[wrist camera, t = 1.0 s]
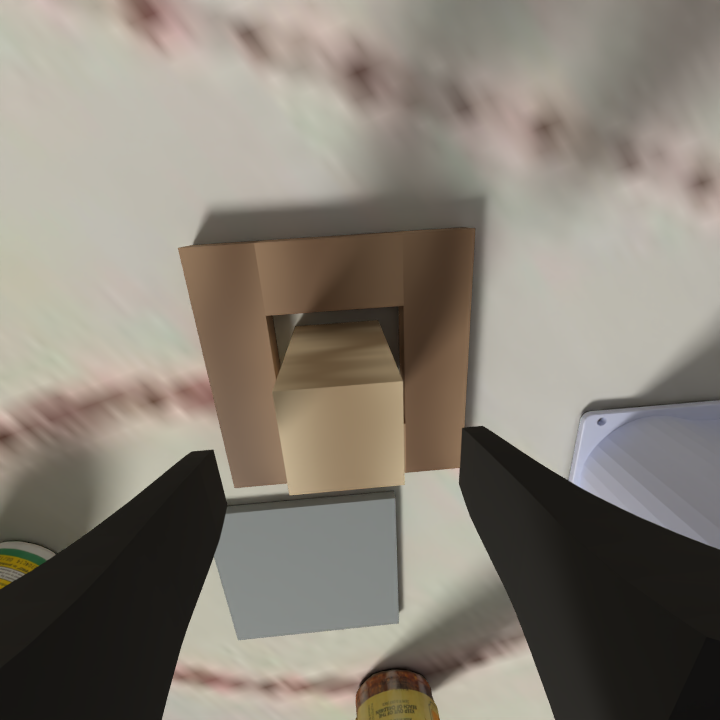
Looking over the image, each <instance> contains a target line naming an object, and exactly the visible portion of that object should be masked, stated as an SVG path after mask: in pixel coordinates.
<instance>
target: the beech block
mask: <svg viewBox="0 0 720 720" xmlns="http://www.w3.org/2000/svg"><path fill="white" fill-rule="evenodd" d="M272 394H273V400H274V406H275V412H276V418H277V424H278V429H279V435H280V441H281V447H282V453H283V459H284V465H285V471H286V477H287V483H288V489H289V495H299V494H310V493H321V492H332V491H343V490H354V489H365V488H376V487H386V486H397V485H405V479H404V419H403V380H402V378H401V375H400V373H399V370H398V368H397V365H396V363H395V361H394V358H393V356H392V353H391V351H390V348H389V346H388V343H387V341H386V338H385V336H384V333H383V331H382V329H381V326H380V324H379V321H378V320H372V321H358V322H345V323H332V324H318V325H305V326H295V329H294V332H293V335H292V337H291V340H290V343H289V346H288V349H287V351H286V354H285V357H284V360H283V363H282V366H281V368H280V371H279V374H278V377H277V380H276V382H275V385H274V388H273V391H272Z"/></svg>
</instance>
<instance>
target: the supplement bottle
mask: <svg viewBox="0 0 720 720" xmlns="http://www.w3.org/2000/svg"><path fill="white" fill-rule="evenodd" d="M55 555H56V554H55V553H54V552H52V551H50V550H49V549H46V548H44V547H42V546H39V545H36V544H32V543H27V542H21V541H10V542H2V543H0V589H1V588H3V587H5V586H6V585H8V584H10V583H11V582H13V581H15V580H16V579H18V578H20V577H22V576H23V575H25V574H27V573H28V572H30V571H32V570H33V569H35V568H36V567H38V566H39V565H41V564H43V563H44V562H46V561H47V560H49V559H50V558H52V557H53V556H55Z"/></svg>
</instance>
